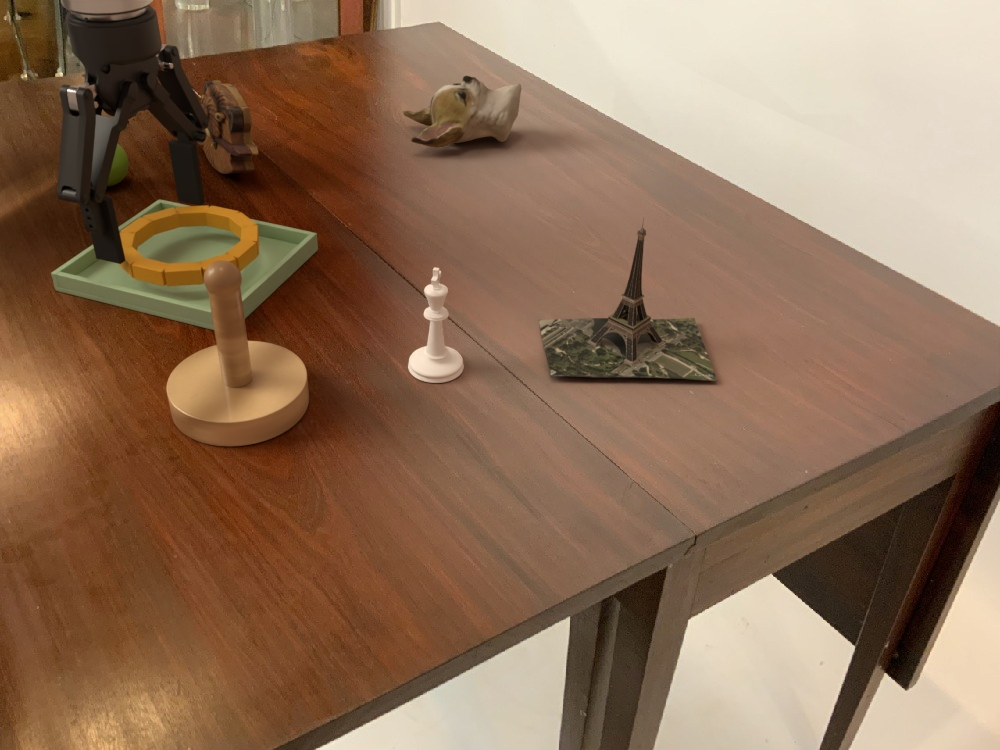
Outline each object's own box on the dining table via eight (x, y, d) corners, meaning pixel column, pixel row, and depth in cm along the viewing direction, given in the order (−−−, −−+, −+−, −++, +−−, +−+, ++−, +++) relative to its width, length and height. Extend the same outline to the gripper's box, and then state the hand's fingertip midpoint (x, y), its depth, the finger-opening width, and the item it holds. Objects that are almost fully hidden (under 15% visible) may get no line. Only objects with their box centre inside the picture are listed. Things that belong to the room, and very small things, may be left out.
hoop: (89, 268, 93) (86, 254, 92) (172, 210, 103) (169, 196, 103) (210, 297, 90) (208, 282, 89) (284, 234, 100) (282, 220, 99)
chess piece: (469, 355, 88) (471, 258, 82) (456, 387, 84) (457, 288, 78) (416, 347, 89) (415, 250, 83) (401, 378, 85) (398, 279, 79)
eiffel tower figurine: (547, 383, 85) (559, 248, 77) (538, 319, 93) (548, 192, 85) (716, 384, 86) (745, 251, 78) (693, 321, 94) (716, 195, 86)
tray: (55, 290, 94) (50, 272, 93) (162, 215, 107) (159, 198, 106) (229, 334, 89) (226, 315, 88) (318, 249, 102) (317, 232, 101)
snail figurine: (132, 168, 116) (112, 69, 109) (133, 192, 111) (112, 89, 104) (83, 173, 115) (60, 72, 107) (82, 196, 110) (58, 93, 103)
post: (142, 426, 78) (109, 283, 70) (219, 352, 87) (198, 217, 79) (265, 461, 75) (245, 316, 67) (332, 381, 84) (322, 244, 76)
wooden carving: (179, 148, 121) (166, 69, 115) (213, 140, 124) (202, 62, 118) (239, 198, 111) (228, 114, 105) (275, 188, 113) (267, 105, 108)
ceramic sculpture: (529, 86, 119) (407, 96, 117) (529, 152, 124) (413, 163, 122) (513, 58, 127) (399, 67, 125) (513, 121, 132) (404, 131, 130)
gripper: (47, 56, 74) (105, 297, 86) (226, -21, 93) (251, 186, 105) (-32, 42, 76) (35, 280, 88) (158, -30, 94) (192, 174, 107)
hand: (153, 229), depth 97 cm, fingers closed on hoop, 12 cm apart
